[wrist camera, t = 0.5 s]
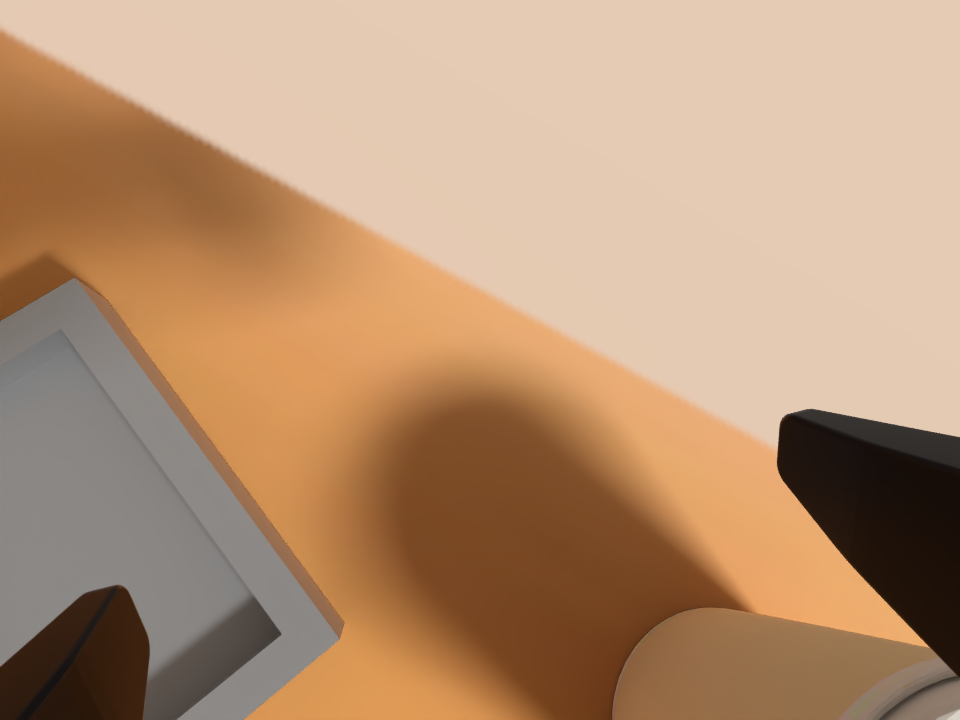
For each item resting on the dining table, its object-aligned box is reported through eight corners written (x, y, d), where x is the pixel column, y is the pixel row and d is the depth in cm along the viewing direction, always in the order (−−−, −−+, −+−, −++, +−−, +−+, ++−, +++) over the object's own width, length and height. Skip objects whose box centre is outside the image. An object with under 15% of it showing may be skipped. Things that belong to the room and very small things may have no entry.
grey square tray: (344, 622, 21) (339, 639, 19) (-64, 961, 18) (-135, 1035, 15) (107, 300, 22) (74, 277, 20) (-323, 562, 19) (-428, 572, 16)
